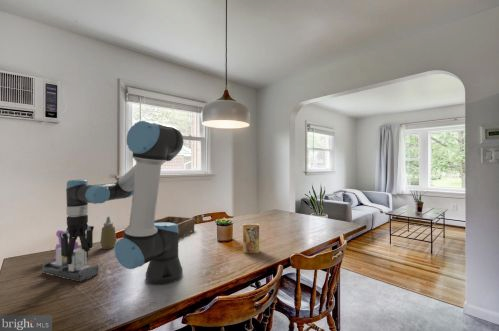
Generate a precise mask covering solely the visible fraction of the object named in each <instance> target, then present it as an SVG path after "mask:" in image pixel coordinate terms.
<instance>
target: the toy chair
mask: <svg viewBox="0 0 499 331" xmlns="http://www.w3.org/2000/svg"><path fill="white" fill-rule="evenodd" d="M65 231H66V230H61V229H59V230H57V231H56V234H55V235H56V237H57V239H58V243H57V244H56V245H55V250H56V249H58V248H61V238H60V235H59V234H60V233H64V232H65ZM68 239H69V234H68ZM68 243H69V240H68ZM78 248H79V243H78V241H76V242H75V247H74V250H75V249H78ZM54 254H55V255H54V257H53V259H56V253H54Z"/></svg>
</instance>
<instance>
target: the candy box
mask: <svg viewBox="0 0 499 331" xmlns="http://www.w3.org/2000/svg"><path fill="white" fill-rule="evenodd" d="M242 232H243V233H242V235H243V236H242V237H243V238H242V241H243V243H242V244H243V245H242V250H243V254H248V253H250V254H252V253H253V254H258V253H260V224H259V223H243V225H242Z"/></svg>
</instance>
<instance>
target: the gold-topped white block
mask: <svg viewBox="0 0 499 331" xmlns="http://www.w3.org/2000/svg"><path fill="white" fill-rule="evenodd" d="M73 255H74V256H75V271H73V273H78V272H80V271H83V270H85V269H87V268H90V267H91V265H85V260H84V249H82V248H80V247H78V249H75V250H74V251H73ZM70 272H72V271H70Z"/></svg>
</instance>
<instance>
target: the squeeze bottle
mask: <svg viewBox="0 0 499 331" xmlns="http://www.w3.org/2000/svg"><path fill="white" fill-rule="evenodd" d="M105 220H106V221H105V223H103V227H101V233H100V234H101V235H100V246H101V248H102V250H110V249H114V248H115V245H116V243H117V235H116V233H117V232H116V227H115V226H114V223H113V222H112V221H111V217H110V216H107V217H106V219H105Z"/></svg>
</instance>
